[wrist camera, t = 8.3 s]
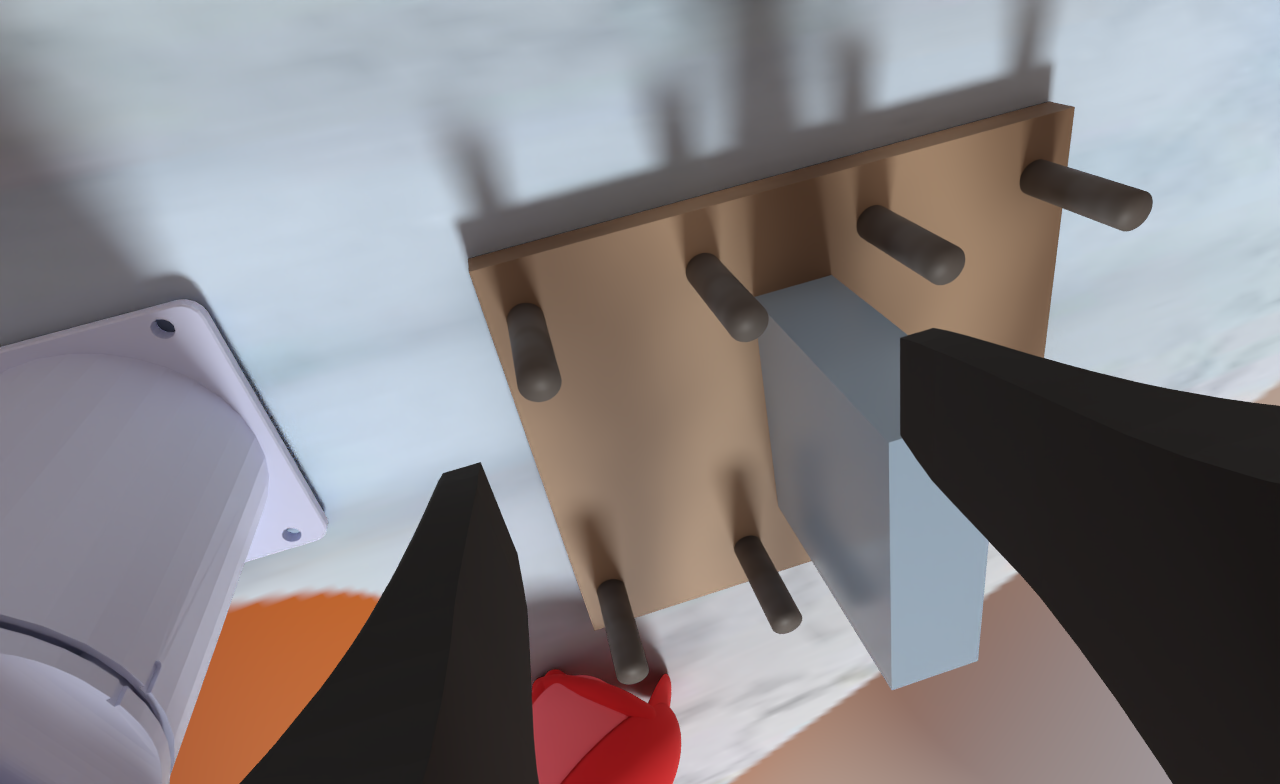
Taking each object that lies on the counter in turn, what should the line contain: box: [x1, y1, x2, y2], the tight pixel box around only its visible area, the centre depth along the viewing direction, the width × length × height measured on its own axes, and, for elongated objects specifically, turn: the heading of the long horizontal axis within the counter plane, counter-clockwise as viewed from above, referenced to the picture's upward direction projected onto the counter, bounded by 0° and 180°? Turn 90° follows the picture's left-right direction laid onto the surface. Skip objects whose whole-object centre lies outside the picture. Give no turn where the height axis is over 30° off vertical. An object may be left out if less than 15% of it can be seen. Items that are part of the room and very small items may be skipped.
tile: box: [755, 275, 989, 690], centre depth 19 cm, size 2×8×8 cm, turn 12°
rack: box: [468, 102, 1153, 684], centre depth 22 cm, size 17×14×4 cm
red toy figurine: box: [532, 669, 681, 784], centre depth 27 cm, size 8×6×6 cm
